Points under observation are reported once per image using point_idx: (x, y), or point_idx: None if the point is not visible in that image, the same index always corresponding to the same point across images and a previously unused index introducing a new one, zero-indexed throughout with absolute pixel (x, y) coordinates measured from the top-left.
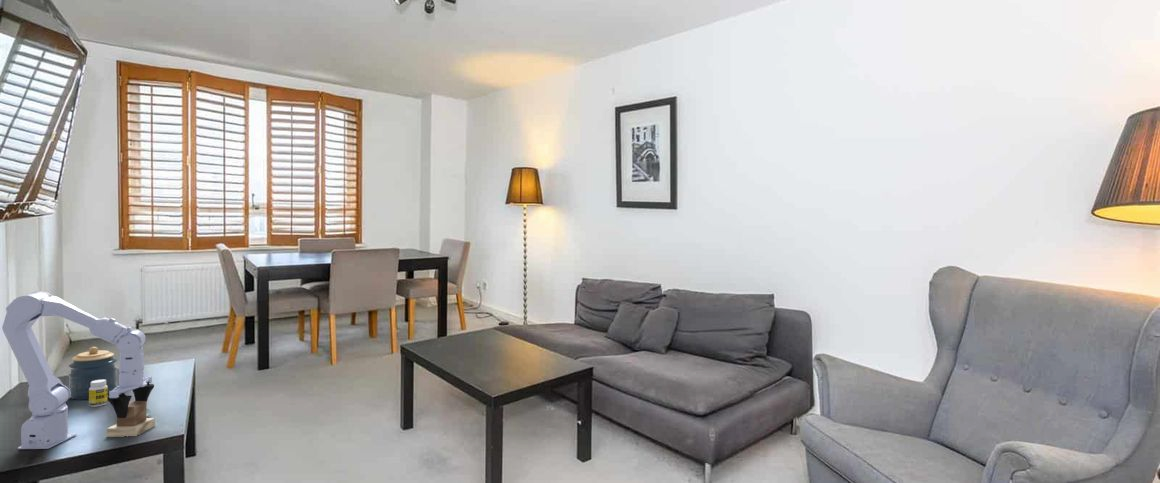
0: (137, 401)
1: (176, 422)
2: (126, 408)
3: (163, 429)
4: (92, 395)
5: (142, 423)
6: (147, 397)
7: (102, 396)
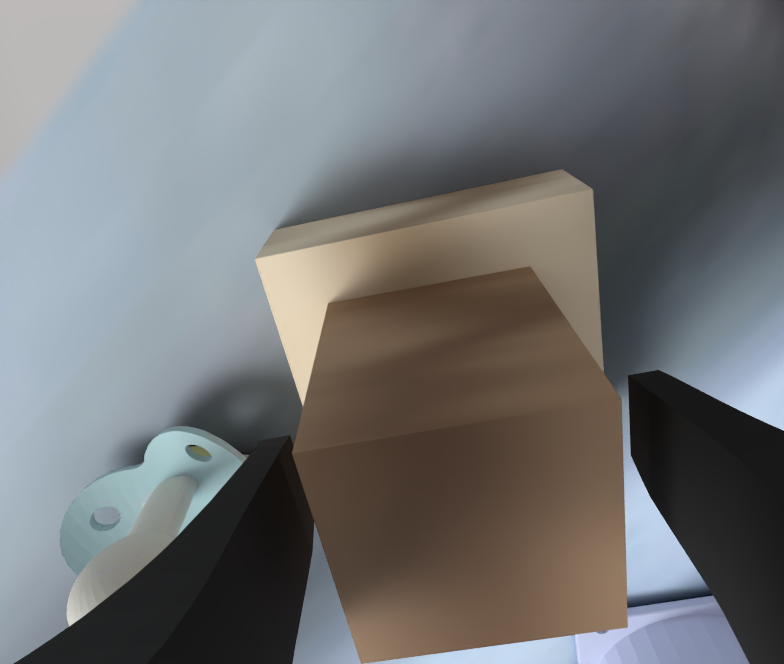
0: (348, 562)
1: (113, 66)
2: (751, 434)
3: (335, 28)
4: None
5: (442, 244)
6: (196, 538)
7: None
